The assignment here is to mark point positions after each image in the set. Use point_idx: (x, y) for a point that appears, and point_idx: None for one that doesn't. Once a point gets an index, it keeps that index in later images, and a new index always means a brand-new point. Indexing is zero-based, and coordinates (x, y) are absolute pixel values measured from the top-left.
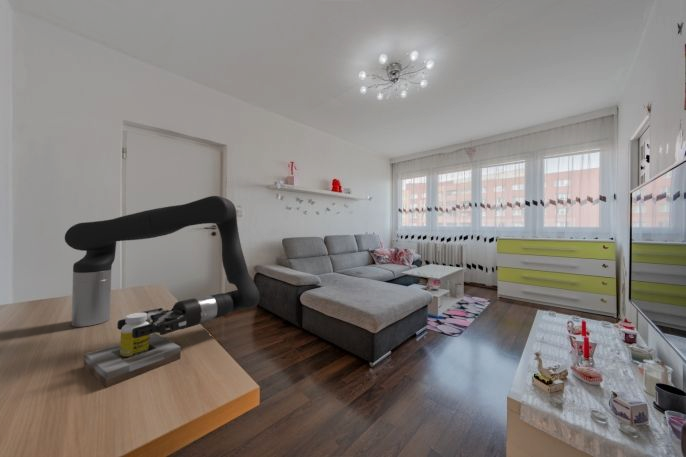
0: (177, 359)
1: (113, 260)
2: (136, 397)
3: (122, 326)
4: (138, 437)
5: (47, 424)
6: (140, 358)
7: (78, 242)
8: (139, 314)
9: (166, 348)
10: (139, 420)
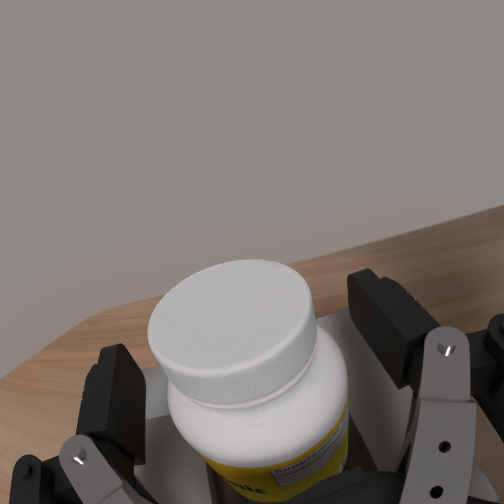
0: None
1: None
2: (56, 436)
3: (359, 316)
4: None
5: (113, 332)
6: (152, 457)
7: None
8: (224, 322)
9: None
10: (2, 417)
